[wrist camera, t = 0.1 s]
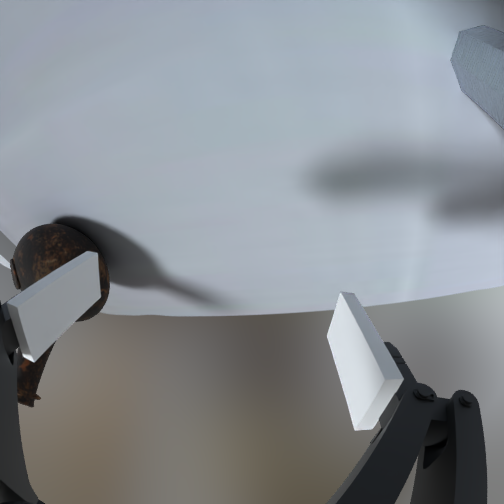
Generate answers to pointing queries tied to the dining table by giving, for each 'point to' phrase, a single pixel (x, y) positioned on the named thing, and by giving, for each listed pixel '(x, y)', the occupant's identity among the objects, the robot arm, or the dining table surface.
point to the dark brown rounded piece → (37, 267)
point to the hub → (481, 68)
